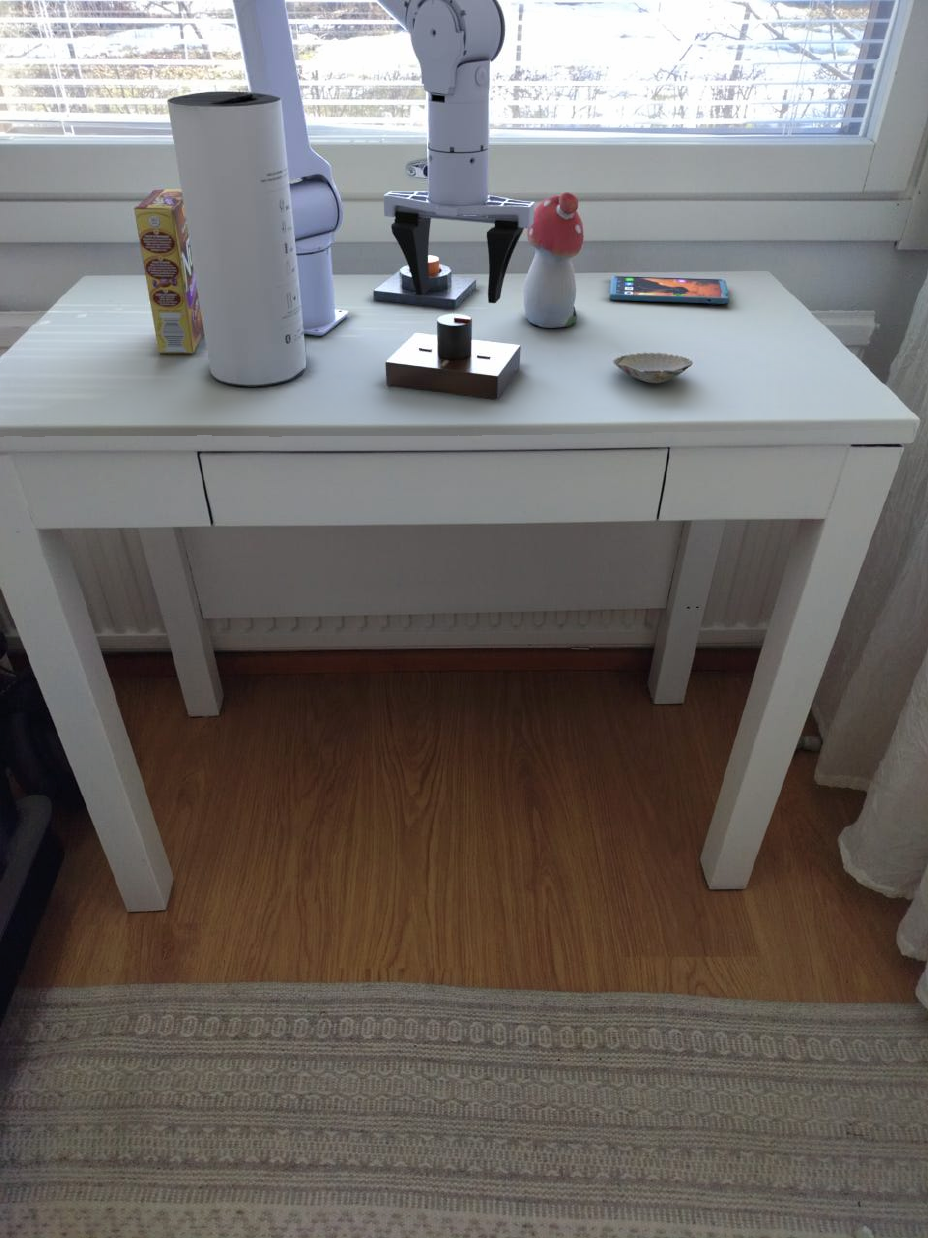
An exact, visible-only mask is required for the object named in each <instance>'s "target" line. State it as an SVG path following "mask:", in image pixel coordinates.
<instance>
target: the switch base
mask: <svg viewBox="0 0 928 1238" xmlns="http://www.w3.org/2000/svg"><path fill="white" fill-rule="evenodd" d="M452 272H453V271H452V269H451V268H450V266H447V265H444V264H441V263H439V273H438V274H434V275H429V290H428V291H427V292H426V293H424V294H423V295H422V296H420V295H416V292H415V287H414V283H413V279H412V276H411V272H410V269H409V266H408V264H407V265H403V266H402V267H401V268H400V269H399V270H397V271H396V272H394V274H393V275H391V276H390V277H388V278H387V279H386V280H385V281H384V282H382V283H381V284H380V285H379V286H377V287H376V288H375V289H374V290H372V291H373V300H374V301H381V302H389V303H400V304H407V305H417V306H426V307H434V308H443V309H454V310H455V309H457V308H458V307H459V306H460V305H461V304H462V303H463V302H464V301H465V300H466V299H467V297H468V296H469V295H471V294H472V293H473V292H474V291H475V290H476V288H477V278H473V277H464V276H463V277H462V276H454V275H452Z"/></svg>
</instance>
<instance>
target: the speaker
mask: <svg viewBox="0 0 928 1238" xmlns="http://www.w3.org/2000/svg"><path fill="white" fill-rule="evenodd" d="M166 103H167V108H168V115H169V121H170V127H171V132H172V139H173V145H174V151H175V158H176V163H177V165H176V166H177V170H178V176H179V182H180V189H181V190H182V196H183V203H184V209H185V215H186V221H187V228H188V234H189V240H190V247H191V253H192V260H193V266H194V272H195V279H196V285H197V291H198V298H199V304H200V310H201V317H202V323H203V329H204V335H203V336H204V341H205V348H206V354H207V361H208V366H209V372H210V374H211V376H212V377H213V378H214V379H215V380H216V381H219V382H220V383H223V384H225V385H231V386H237V387H248V388H249V387H251V388H254V387H267V386H274V385H278V384H283V383H286V382H289V381H292V380H293V379H295V378H297V377H299V376H301V375H302V374H303V373H304V371H305V369H306V367H307V356H306V345H305V334H304V331H303V321H302V310H301V299H300V288H299V278H298V267H297V257H296V247H295V237H294V226H293V216H292V206H291V196H290V186H289V183H290V180H289V175H288V165H287V155H286V145H285V134H284V124H283V113H282V103H281V98H280V97H278V96H274V95H269V94H261V93H251V92H249V91H231V90H230V91H229V90H228V91H227V90H225V91H223V90H222V91H221V90H220V91H219V90H218V91H204V92H195V93H188V94H182V95H178V96H173V97H170V98H167V100H166Z"/></svg>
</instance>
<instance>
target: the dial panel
mask: <svg viewBox="0 0 928 1238" xmlns="http://www.w3.org/2000/svg"><path fill="white" fill-rule="evenodd" d="M384 362H385V380H386V381H385V382H386V383H385V384H386V385H387V386H392V387H400V388H407V389H415V390H422V391H429V392H437V393H444V394H450V395H451V394H452V395H460V396H468V397H473V398H474V397H476V398H481V399H488V400H489V399H490V400H496V401H497V400H498V399H499V398H500V396H501V395H502V393H503V392H504V391H505V389H506V388H507V386H508V385H509V383H510V382H511V381H512V379H513V377H514V376H515V375H516V374H517V372H518V370H519V369H520V365H521V345H520V344H513V343H505V342H498V341H497V342H496V341H488V340H478V339H472V353H471V355H470V356H468V357H466V358H461V359H448V358H443V357H441V356H439V355H438V353H437V334H428V333H419V332H414V333H413V334H412V335H411V337H409V338H408V339H407V340H406V341H405V342H404V343H403V344H402V345H401V346H400V347H399V348H398V349H397V350H395V352H394V353H393V354H392V355H391V356H390V357H389V358H388V359H387V360H386V361H384Z"/></svg>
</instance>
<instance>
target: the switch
mask: <svg viewBox="0 0 928 1238" xmlns="http://www.w3.org/2000/svg"><path fill="white" fill-rule="evenodd" d="M428 264H429V275H434V274H438V273H439V264H440V258H439V257H438V256H436V255H431V254H428Z"/></svg>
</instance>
